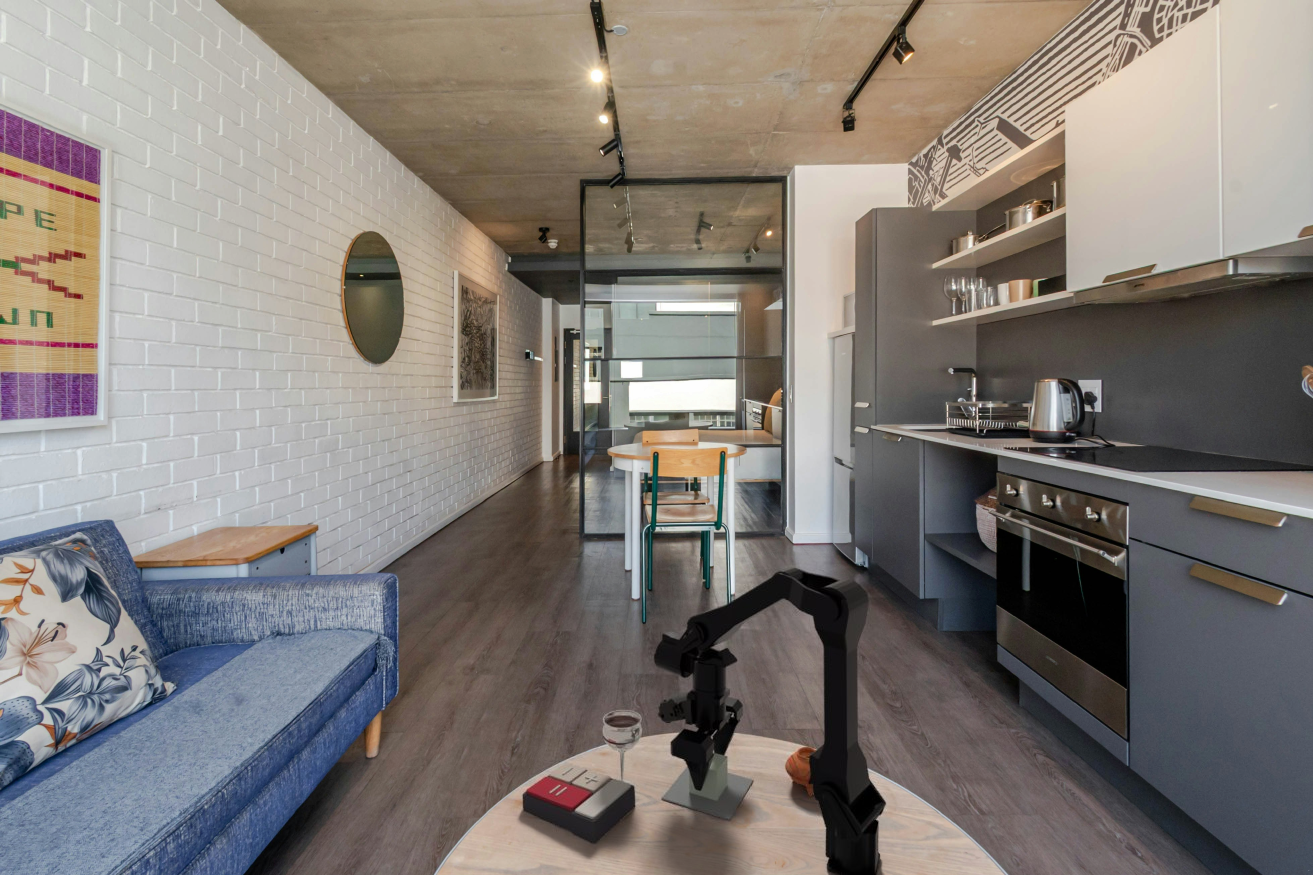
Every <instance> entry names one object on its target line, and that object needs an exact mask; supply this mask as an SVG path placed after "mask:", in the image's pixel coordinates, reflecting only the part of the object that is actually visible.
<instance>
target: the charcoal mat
mask: <svg viewBox="0 0 1313 875" xmlns="http://www.w3.org/2000/svg"><path fill="white" fill-rule="evenodd" d="M753 782H754V779H753V778H748V777H745V776H741V775H737V774H734V773H731V772H728V778H727V786H726V788H725V789H724V791H723V792H722V794H721V795H720V797H719V798H718V800H717V801H715V800H712V799H709V798H706V797H702V796H699V795H696V794H692V793H689V769H688V767H687V766H686V767H685V768H684V769H683V771H682V773H680V774H679V776H678V777H677V778H676V780H675V781H674V782H673V783H672V784H671V786H670V787H669V789H667V791H666V792H665V793H664V794H663V795H662V797H661V800H664V801H666V802H668V803H672V804H676V805H679V806H682V807H685V808H688V809H692V810H695V811H698V812H702V813H704V814H707V815H711V816H715V817H717V818H721V819H724V820H727V821H731V819H732V818H733V815H734V814H735V813H736V810H738V807H739V806H740V804H741V802H742V800H743V799H744V798H745V795H746V794H747V792H748V791H749V789H750V788H751V785H752V784H753Z"/></svg>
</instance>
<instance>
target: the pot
mask: <svg viewBox="0 0 1313 875" xmlns="http://www.w3.org/2000/svg"><path fill="white" fill-rule="evenodd" d="M816 750H817V749H815V748H813V747H810V746H803V747H800V748H798V749H797V750H796V751H795V752H794V753H792V754H791V755H790V756H789V757H788V758H787V760H786V761H785V765H784V768H785V771H786V773H787V774H788V776H789V777H790V778H791V780H792V781H793V782H794V783H797V784H798V785H801V786H804V787H806V791H807V793H808V796H809V797H812V796H813V789H812V786H813V784H811V785H809V784H808V782H809V779H810V774H811V773H810V765H809V756H810V755H811V754H812V753H813V752H815V751H816Z"/></svg>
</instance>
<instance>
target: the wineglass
mask: <svg viewBox="0 0 1313 875" xmlns="http://www.w3.org/2000/svg"><path fill="white" fill-rule="evenodd" d="M602 722H603V726H602V738H603V740H604V742H605V744H606V745H607V746H608V747H609V748H611V749H612V750H613V751H617V753H619V762H620V763H619V764H620V779H619V780H620V781H623V782H626V783H629V784H631V785H633V786H634V787H635V792H636V791H637V785H636V783H635V782H633V781H632V780H628V779H624V775H625V773H624V772H625V771H624V770H625V753H626V752H627V751H629V750H632V749H633V748H634V747H635V746H636V745H637V744H638V743H640V740H641V737H642V735H643V734H642V733H643V729H642V724H641V723H642V716H641V715H640V713H638V712H637V711H633V710H630V709H618V710H617V709H616V710H612V711H610V712H608V713H606V714H605V715H603V718H602Z"/></svg>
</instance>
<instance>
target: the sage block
mask: <svg viewBox="0 0 1313 875" xmlns="http://www.w3.org/2000/svg"><path fill="white" fill-rule="evenodd" d="M713 754H714V757H713V760H712V763H711V766H710V769H709V771H708V774H707V777H706V780H705V783H704V785H703V788H702V790H701V791H698V790H696V789H695V788H694V785H693V782H692V779H691V775H690V772H689V793H692V794H696V795H699V796H702V797H706V798H709V799H712V800H715V801H717V800H718V798H719V797H720V795H721V794H722V792H723V791H724V789H725V788H726V786H727V778H728V773H729V772H728V770H729V769H728V766H729V765H728V761H729V760H728V756H727V755H725V756H724V755H720V754H717V753H714V752H713Z"/></svg>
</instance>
